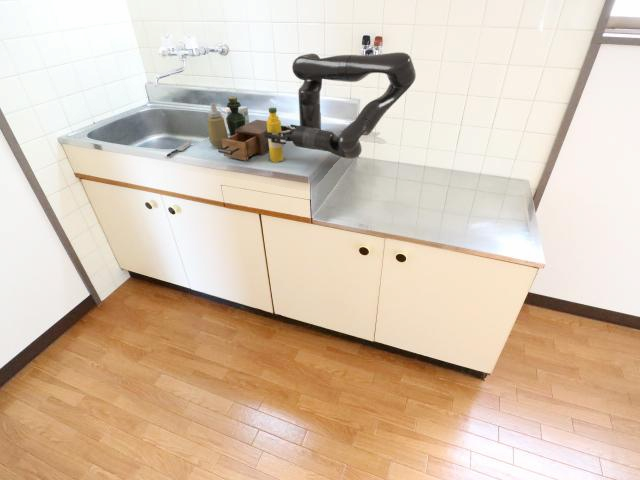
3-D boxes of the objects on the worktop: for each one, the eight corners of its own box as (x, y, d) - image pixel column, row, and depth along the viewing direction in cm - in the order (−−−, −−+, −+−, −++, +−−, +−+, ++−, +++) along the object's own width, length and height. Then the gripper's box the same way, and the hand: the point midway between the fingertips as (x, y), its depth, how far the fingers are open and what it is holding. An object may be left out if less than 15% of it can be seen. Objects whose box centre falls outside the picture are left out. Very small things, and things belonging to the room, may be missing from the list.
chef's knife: (196, 141, 165) (190, 141, 165) (196, 139, 164) (190, 138, 164) (173, 158, 149) (166, 157, 150) (172, 155, 149) (165, 154, 149)
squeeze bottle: (206, 146, 159) (198, 103, 149) (222, 141, 164) (215, 99, 154) (217, 151, 155) (209, 106, 145) (233, 145, 160) (226, 102, 149)
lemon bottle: (275, 155, 150) (270, 105, 138) (286, 158, 148) (282, 107, 136) (267, 160, 146) (262, 109, 135) (278, 163, 144) (274, 111, 133)
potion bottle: (251, 138, 167) (246, 96, 157) (239, 144, 161) (233, 101, 151) (237, 135, 170) (231, 94, 160) (225, 140, 165) (218, 98, 154)
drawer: (237, 165, 140) (234, 148, 136) (214, 160, 144) (211, 143, 140) (266, 149, 153) (265, 132, 149) (245, 144, 158) (243, 128, 154)
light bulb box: (243, 126, 180) (240, 104, 174) (251, 130, 176) (248, 106, 170) (223, 131, 175) (220, 108, 169) (230, 135, 171) (227, 111, 164)
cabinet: (261, 155, 150) (259, 134, 145) (237, 150, 155) (234, 129, 150) (281, 143, 161) (280, 123, 156) (258, 139, 166) (256, 119, 161)
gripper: (298, 154, 132) (261, 146, 138) (318, 141, 142) (282, 135, 148) (297, 133, 127) (259, 126, 134) (317, 121, 137) (281, 116, 144)
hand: (271, 131), depth 141 cm, fingers open, 8 cm apart
